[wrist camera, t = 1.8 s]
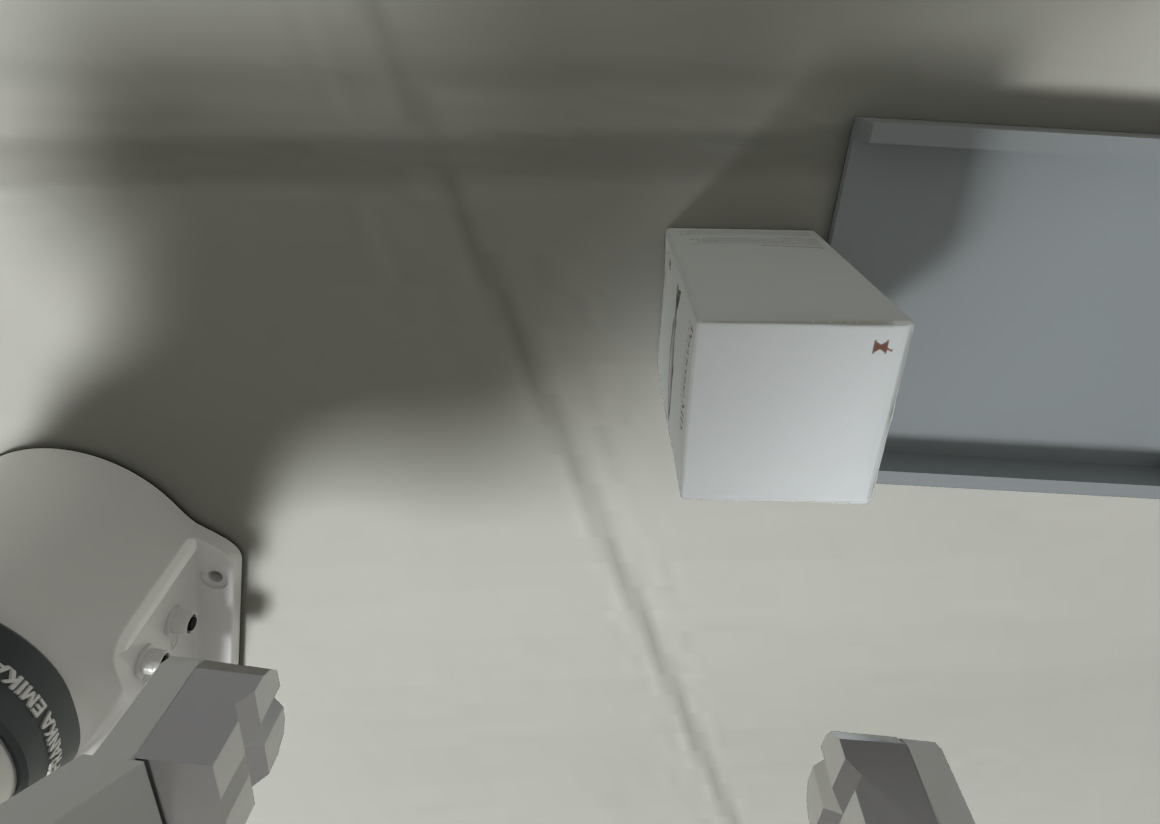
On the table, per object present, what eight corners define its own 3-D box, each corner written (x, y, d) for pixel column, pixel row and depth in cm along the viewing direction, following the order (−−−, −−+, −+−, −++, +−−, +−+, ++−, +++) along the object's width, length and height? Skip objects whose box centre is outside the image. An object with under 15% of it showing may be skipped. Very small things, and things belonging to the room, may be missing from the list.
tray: (1164, 475, 40) (1197, 501, 38) (782, 454, 40) (792, 478, 38) (1335, 144, 32) (1390, 152, 29) (854, 116, 32) (874, 122, 29)
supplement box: (662, 223, 34) (695, 314, 23) (817, 228, 34) (926, 320, 23) (652, 365, 37) (675, 503, 26) (792, 368, 37) (876, 509, 26)
